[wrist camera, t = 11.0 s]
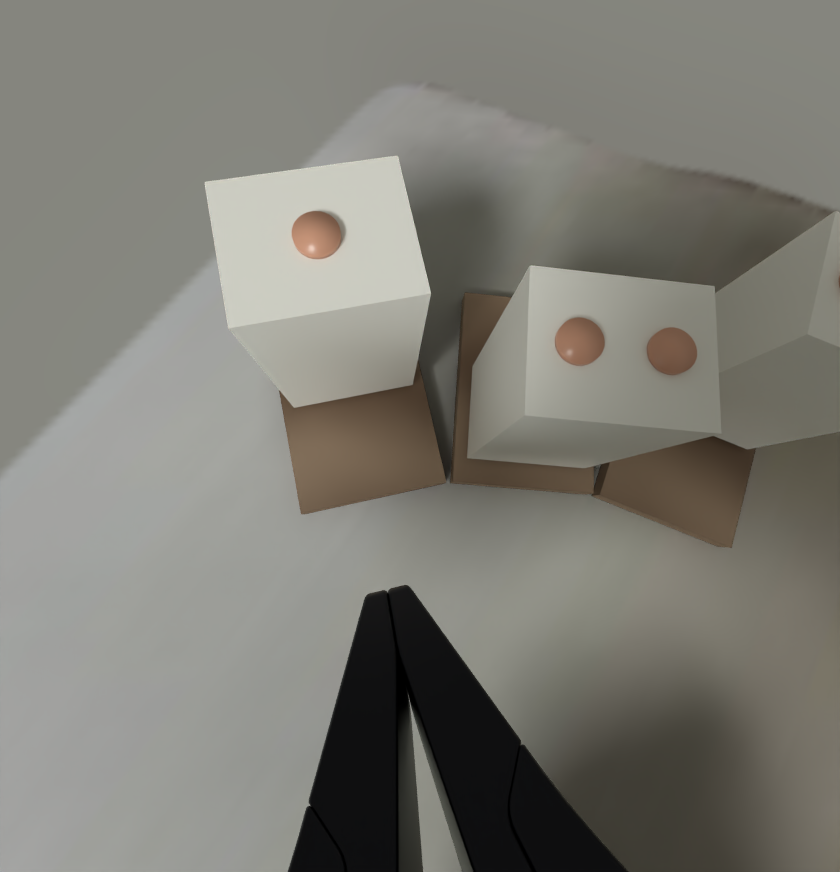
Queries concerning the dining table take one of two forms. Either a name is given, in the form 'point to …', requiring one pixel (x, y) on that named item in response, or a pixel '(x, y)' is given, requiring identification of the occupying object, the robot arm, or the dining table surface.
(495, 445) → the two-bump white pillar
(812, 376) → the three-dot tile
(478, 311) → the tile tracks
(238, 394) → the dining table surface
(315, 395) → the white pillar with knob
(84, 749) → the dining table surface
